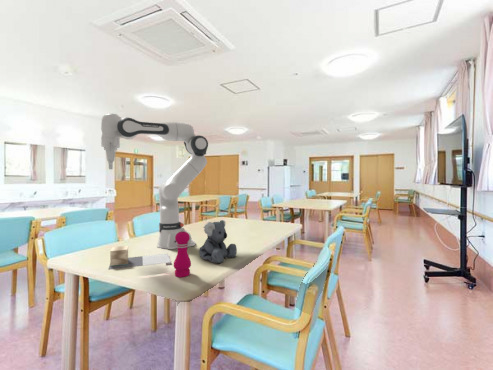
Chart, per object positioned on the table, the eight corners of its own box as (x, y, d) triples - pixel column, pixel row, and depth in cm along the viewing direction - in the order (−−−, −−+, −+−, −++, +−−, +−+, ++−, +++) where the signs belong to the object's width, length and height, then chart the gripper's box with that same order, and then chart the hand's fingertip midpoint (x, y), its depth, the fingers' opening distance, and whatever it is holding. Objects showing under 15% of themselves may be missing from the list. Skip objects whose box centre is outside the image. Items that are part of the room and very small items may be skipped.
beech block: (128, 260, 124) (128, 245, 123) (127, 264, 117) (127, 249, 117) (111, 261, 121) (111, 247, 121) (110, 266, 114) (110, 251, 114)
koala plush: (218, 265, 120) (218, 224, 119) (191, 258, 130) (191, 220, 129) (239, 256, 134) (239, 219, 134) (213, 250, 144) (213, 216, 144)
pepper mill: (175, 271, 112) (175, 226, 111) (192, 271, 112) (192, 226, 112) (172, 278, 104) (172, 229, 104) (189, 277, 105) (189, 229, 104)
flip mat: (167, 255, 135) (167, 253, 135) (171, 264, 121) (171, 262, 121) (111, 261, 124) (111, 259, 124) (108, 271, 111) (108, 269, 111)
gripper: (117, 141, 131) (117, 168, 131) (116, 146, 149) (116, 169, 149) (103, 141, 128) (103, 168, 128) (104, 145, 146) (104, 169, 146)
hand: (110, 169), depth 139 cm, fingers open, 8 cm apart
